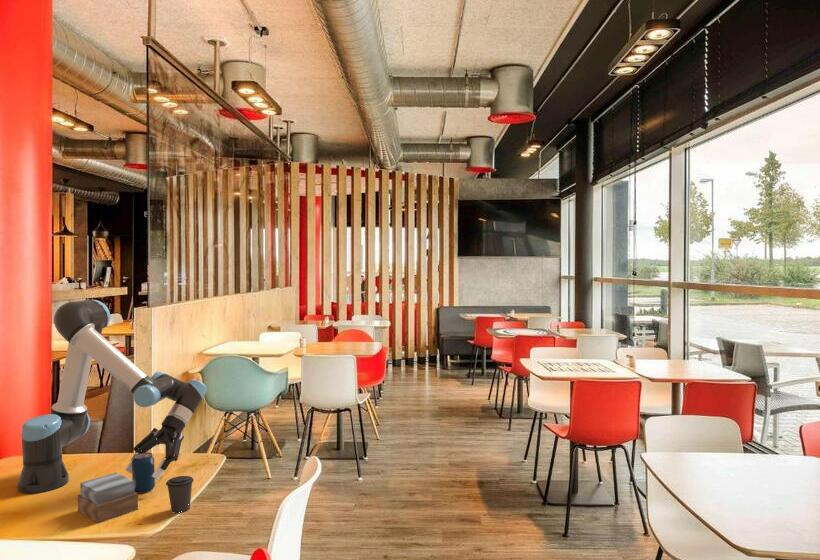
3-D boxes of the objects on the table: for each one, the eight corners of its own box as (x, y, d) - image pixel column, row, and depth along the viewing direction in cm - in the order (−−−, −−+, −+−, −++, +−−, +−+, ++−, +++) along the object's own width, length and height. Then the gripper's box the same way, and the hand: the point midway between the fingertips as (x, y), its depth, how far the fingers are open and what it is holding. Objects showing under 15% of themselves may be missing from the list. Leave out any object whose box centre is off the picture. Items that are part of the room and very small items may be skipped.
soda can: (159, 486, 203) (158, 452, 202) (146, 494, 196) (145, 459, 195) (141, 485, 204) (140, 451, 203) (128, 493, 197) (127, 458, 197)
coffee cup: (185, 516, 179) (184, 483, 178) (161, 514, 180) (160, 482, 180) (199, 505, 187) (198, 474, 186) (176, 503, 188) (175, 472, 188)
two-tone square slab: (78, 511, 183) (77, 482, 183) (117, 498, 193) (116, 471, 193) (98, 523, 175) (97, 493, 174) (138, 509, 184) (137, 481, 184)
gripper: (207, 429, 208) (173, 486, 195) (159, 421, 220) (124, 474, 207) (195, 418, 203) (159, 475, 190) (146, 410, 215) (110, 464, 202)
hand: (141, 475), depth 199 cm, fingers open, 13 cm apart
